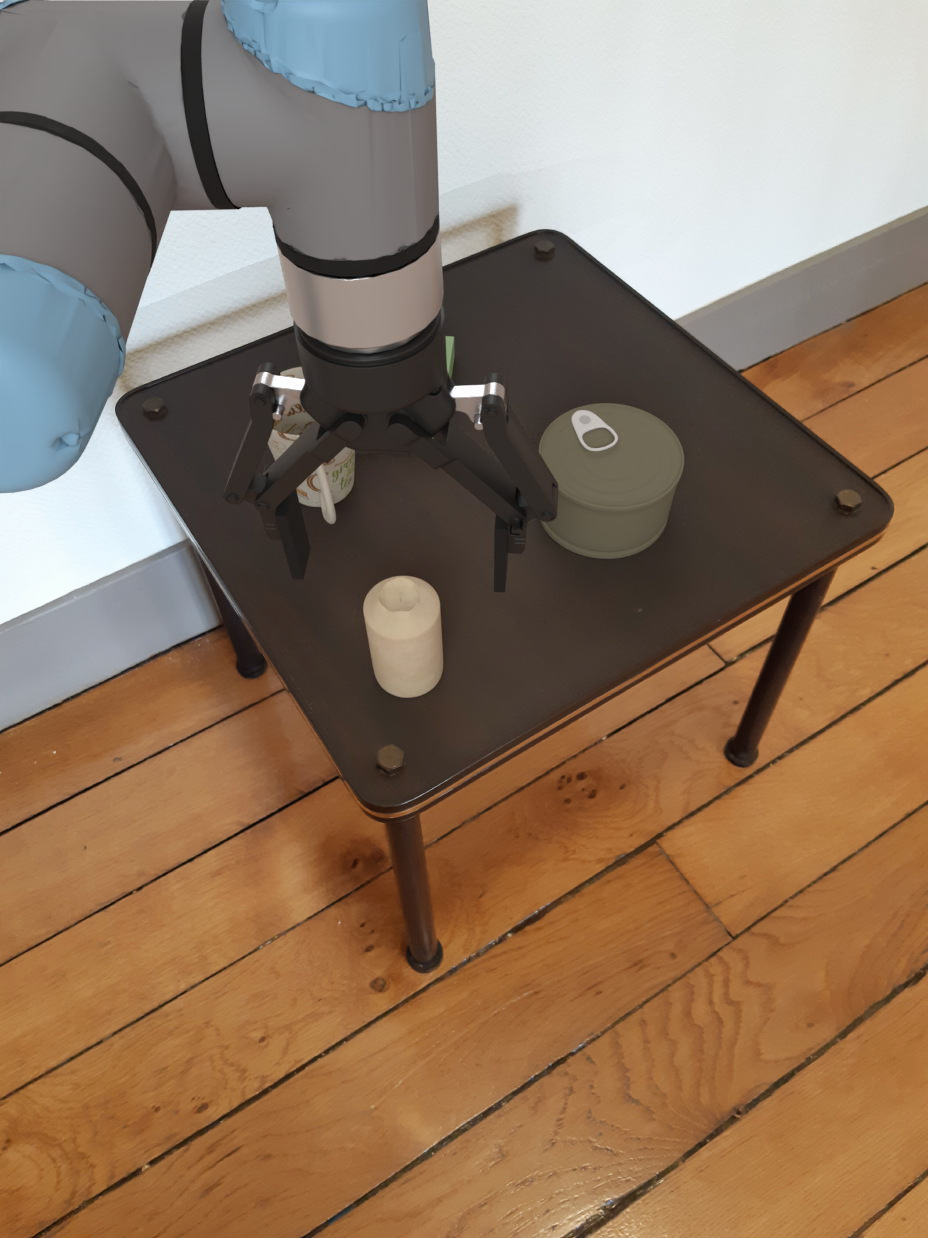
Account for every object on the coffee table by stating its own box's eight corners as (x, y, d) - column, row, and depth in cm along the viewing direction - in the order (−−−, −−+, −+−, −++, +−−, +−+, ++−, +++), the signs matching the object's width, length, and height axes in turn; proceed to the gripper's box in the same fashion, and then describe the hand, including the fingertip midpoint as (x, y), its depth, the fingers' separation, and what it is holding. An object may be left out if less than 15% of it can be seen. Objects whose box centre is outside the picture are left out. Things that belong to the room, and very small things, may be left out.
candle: (452, 688, 73) (448, 615, 65) (383, 706, 72) (371, 635, 64) (433, 632, 76) (427, 555, 68) (366, 648, 75) (353, 573, 67)
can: (575, 580, 79) (583, 527, 73) (511, 484, 85) (513, 428, 79) (696, 532, 82) (713, 477, 76) (625, 442, 88) (636, 386, 82)
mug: (353, 440, 88) (341, 356, 80) (390, 539, 82) (380, 458, 73) (266, 461, 87) (244, 378, 79) (296, 563, 80) (276, 484, 72)
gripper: (623, 269, 47) (586, 537, 65) (142, 250, 49) (233, 516, 67) (624, 370, 43) (584, 627, 61) (97, 345, 45) (207, 603, 62)
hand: (400, 570), depth 64 cm, fingers open, 13 cm apart
